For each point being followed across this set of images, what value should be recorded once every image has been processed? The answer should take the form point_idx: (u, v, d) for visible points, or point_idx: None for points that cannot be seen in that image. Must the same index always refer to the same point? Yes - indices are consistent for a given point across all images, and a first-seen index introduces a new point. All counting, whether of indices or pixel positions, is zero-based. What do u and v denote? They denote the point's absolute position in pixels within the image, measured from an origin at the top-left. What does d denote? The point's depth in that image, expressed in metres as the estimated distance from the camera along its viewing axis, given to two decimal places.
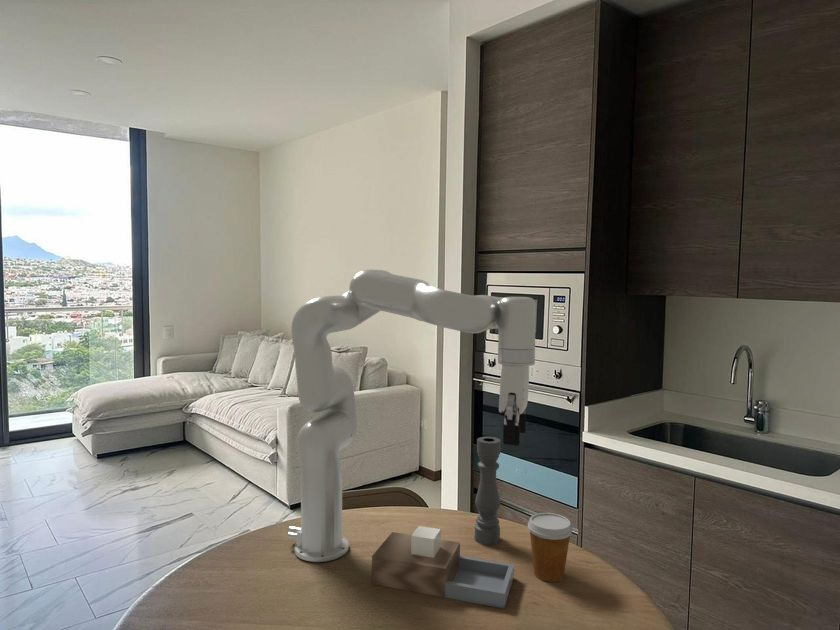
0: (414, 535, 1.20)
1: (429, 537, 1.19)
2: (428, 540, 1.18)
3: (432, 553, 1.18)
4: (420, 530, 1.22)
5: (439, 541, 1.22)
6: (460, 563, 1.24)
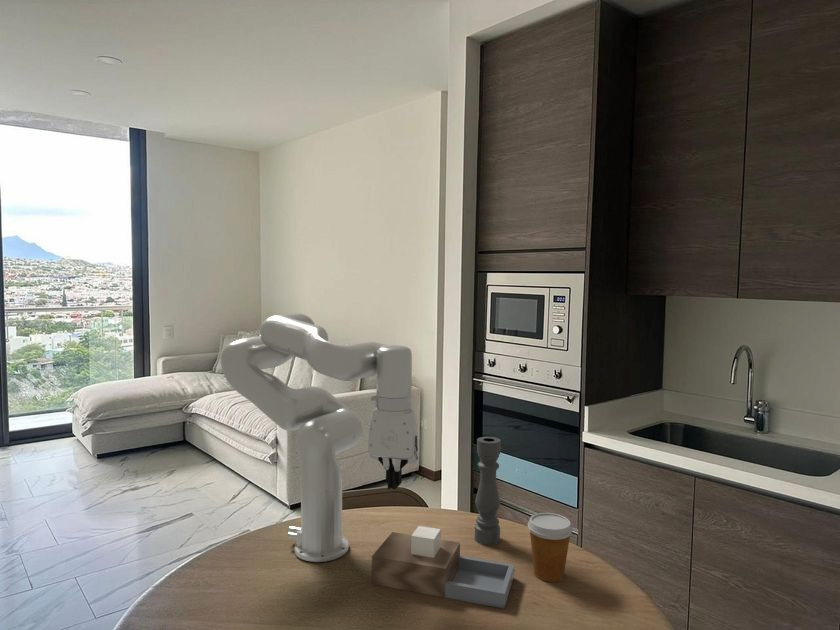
0: (414, 535, 1.20)
1: (429, 537, 1.19)
2: (428, 540, 1.18)
3: (432, 553, 1.18)
4: (420, 530, 1.22)
5: (439, 541, 1.22)
6: (460, 563, 1.24)
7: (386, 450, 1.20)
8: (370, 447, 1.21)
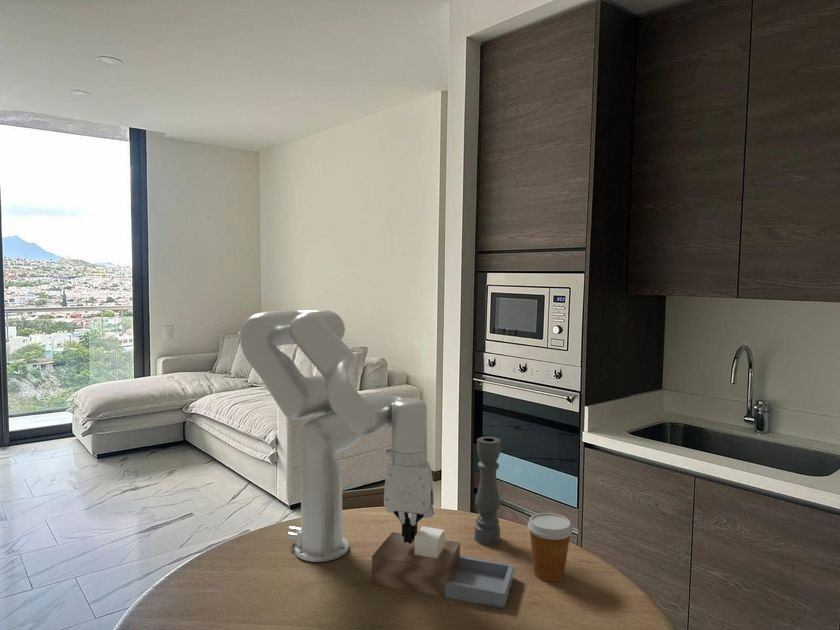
0: (417, 535, 1.19)
1: (433, 538, 1.18)
2: (432, 541, 1.18)
3: (435, 554, 1.18)
4: (423, 530, 1.22)
5: (442, 542, 1.22)
6: (460, 563, 1.24)
7: (402, 505, 1.19)
8: (386, 501, 1.21)
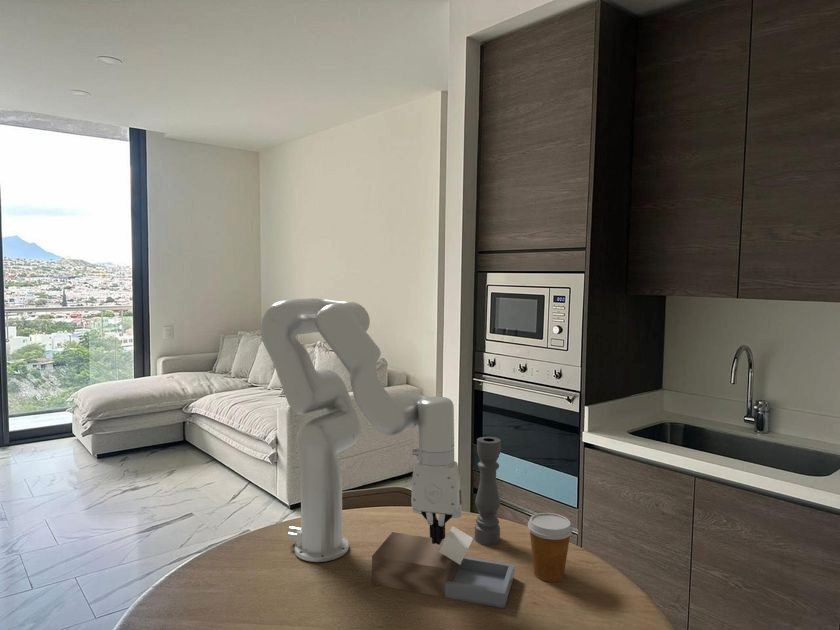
0: (449, 536, 1.17)
1: (463, 544, 1.17)
2: (462, 547, 1.16)
3: (460, 560, 1.17)
4: (454, 532, 1.20)
5: None
6: None
7: (430, 505, 1.17)
8: (413, 502, 1.19)
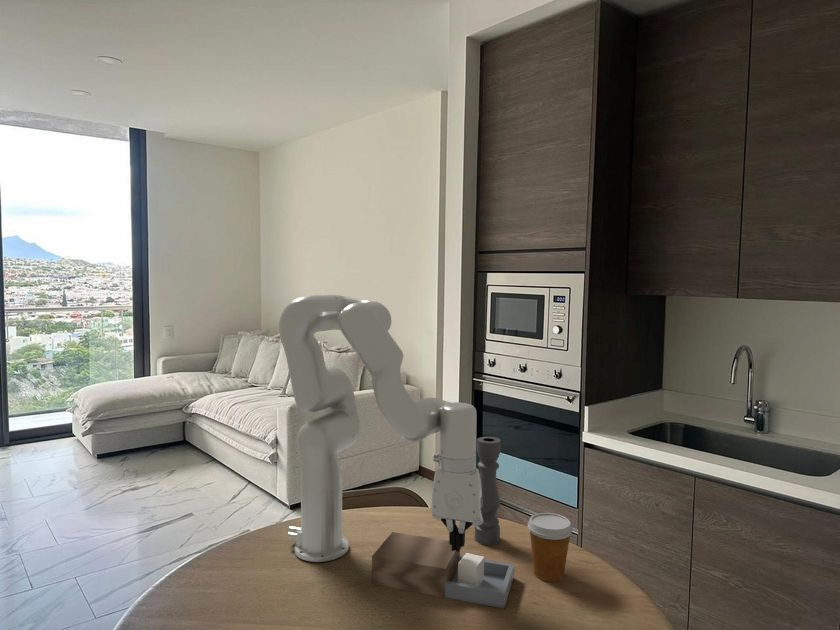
0: (476, 569, 1.16)
1: (476, 584, 1.16)
2: None
3: None
4: (481, 565, 1.18)
5: None
6: None
7: (451, 512, 1.16)
8: (433, 508, 1.17)
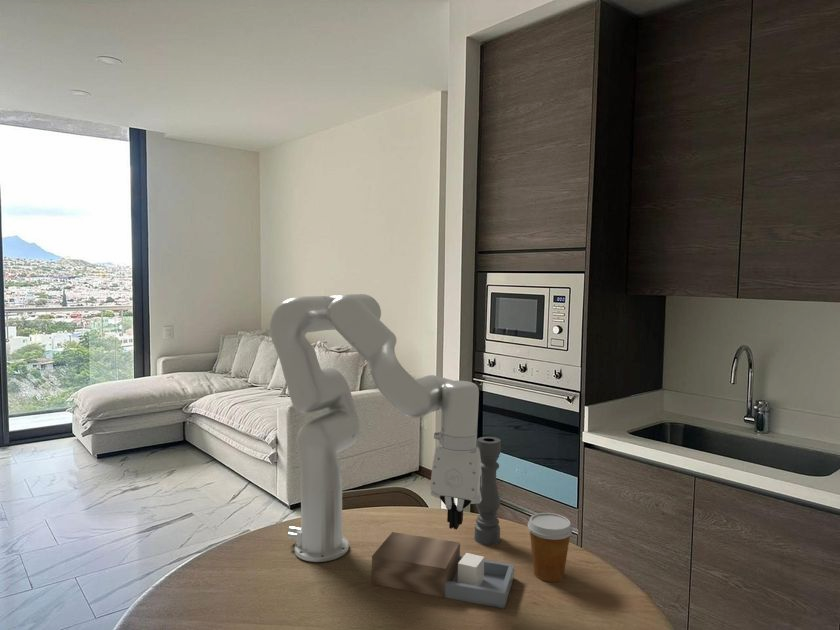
0: (476, 569, 1.16)
1: (476, 584, 1.16)
2: None
3: None
4: (481, 565, 1.18)
5: None
6: None
7: (450, 489, 1.16)
8: (433, 485, 1.17)
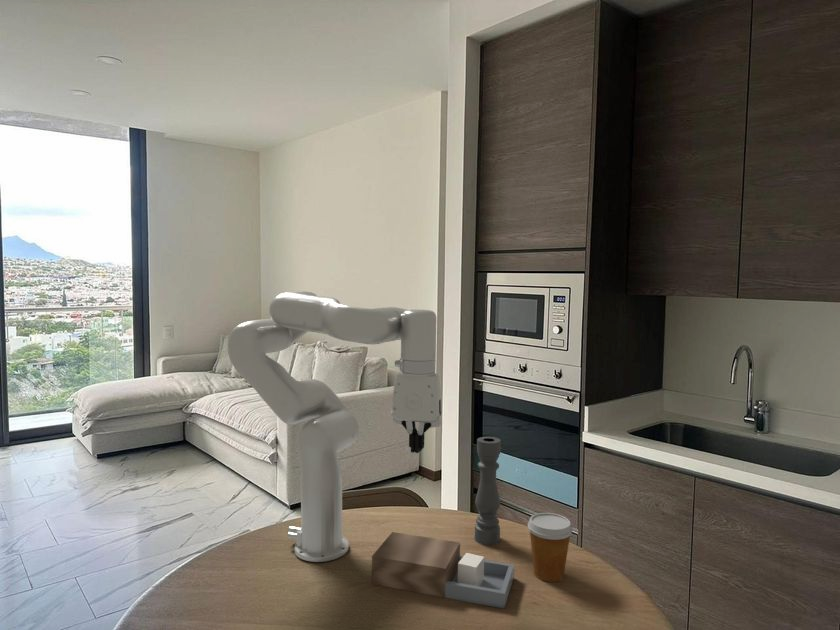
0: (476, 569, 1.16)
1: (476, 584, 1.16)
2: None
3: None
4: (481, 565, 1.18)
5: None
6: None
7: (410, 413, 1.20)
8: (394, 410, 1.21)
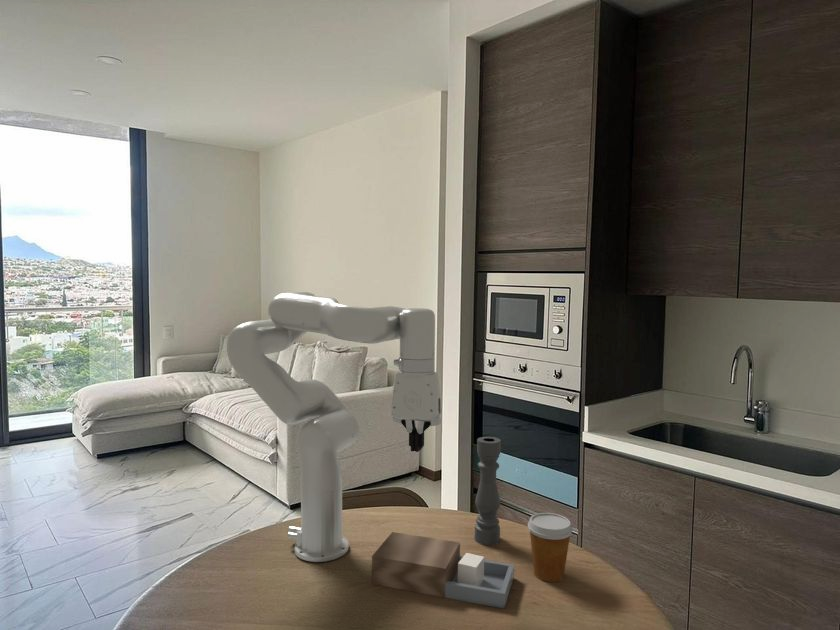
0: (476, 569, 1.16)
1: (476, 584, 1.16)
2: None
3: None
4: (481, 565, 1.18)
5: None
6: None
7: (409, 412, 1.20)
8: (393, 409, 1.21)
